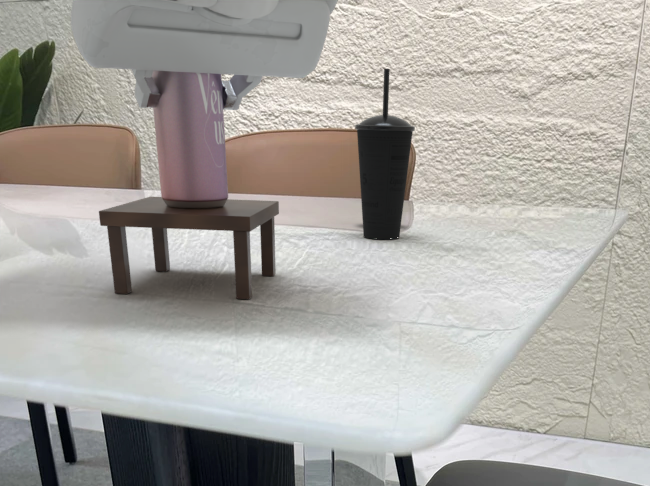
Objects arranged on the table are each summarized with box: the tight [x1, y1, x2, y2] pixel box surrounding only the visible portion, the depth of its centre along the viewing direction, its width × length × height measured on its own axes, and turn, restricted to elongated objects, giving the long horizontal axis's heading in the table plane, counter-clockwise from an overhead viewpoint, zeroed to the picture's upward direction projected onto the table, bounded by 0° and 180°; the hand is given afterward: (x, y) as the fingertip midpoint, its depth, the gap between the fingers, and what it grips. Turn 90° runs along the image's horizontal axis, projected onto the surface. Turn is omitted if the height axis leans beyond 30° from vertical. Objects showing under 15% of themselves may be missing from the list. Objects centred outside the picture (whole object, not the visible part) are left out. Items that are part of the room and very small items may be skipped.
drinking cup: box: [354, 68, 416, 240], centre depth 99 cm, size 8×8×20 cm
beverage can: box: [152, 71, 229, 209], centre depth 67 cm, size 6×6×15 cm
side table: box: [98, 196, 280, 300], centre depth 72 cm, size 13×13×7 cm
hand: (187, 103), depth 67 cm, fingers closed on beverage can, 6 cm apart
